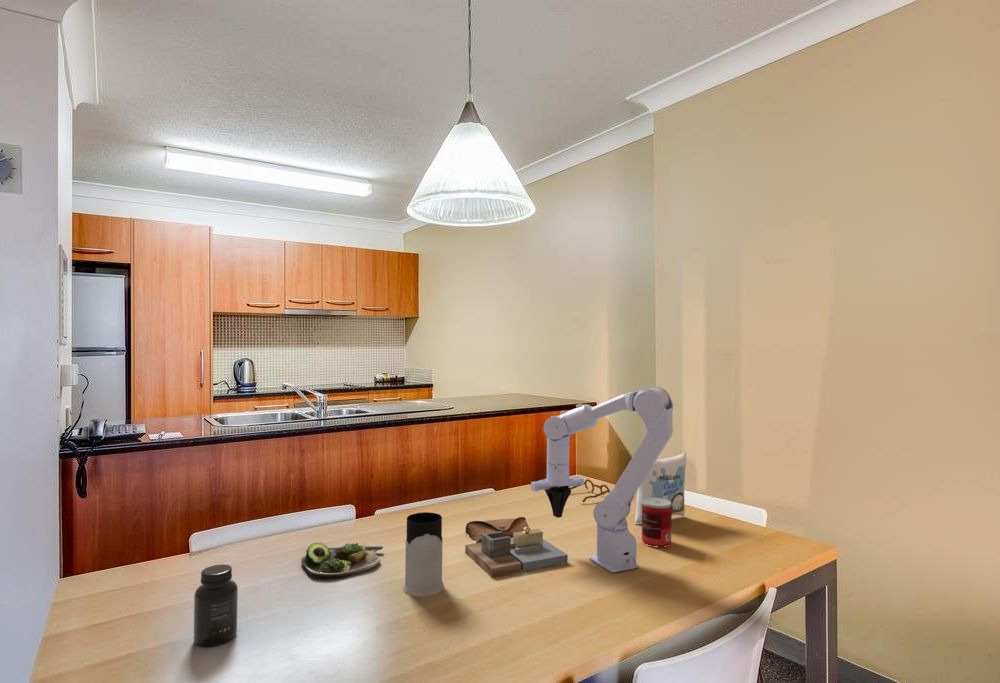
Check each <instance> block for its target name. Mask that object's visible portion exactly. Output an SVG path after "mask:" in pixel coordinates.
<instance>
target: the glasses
mask: <svg viewBox="0 0 1000 683" xmlns="http://www.w3.org/2000/svg"><path fill="white" fill-rule="evenodd" d="M584 480H585V481H584V487H585V489H586V488H587V489H589V488H588V485H587V483H588V482H589V483H590V484H591V491H595V488H598V489H600V493H596V494H595V495H588V496H585V497H584V498H583V499H582V501H581V502H584V503H585V502H586V501H587V499H592V498H597V497H600V496H602V494H603V495H605V494H607V493H608V494H609V492H610V491H611V490H610V488H609V487H608V485H607V484H601V485H599V484H598V485H597V484H594V483H593V481H592V480H591V479H587V478H586V479H584ZM578 487H580V486H570V487H568V488H569V489H571V490H573V489H576V488H578ZM603 487H604V488H606V490H604V491H603ZM587 489H586V490H587ZM608 494H607V495H608Z"/></svg>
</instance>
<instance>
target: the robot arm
mask: <svg viewBox="0 0 1000 683" xmlns="http://www.w3.org/2000/svg"><path fill="white" fill-rule="evenodd" d="M575 407H576V408H573V409H570V410H568V411H566V410H562V411H560V412H559V414H560V415H552V416H550V417H549V418H547V419H546V420H545V422H544V424H543V427H542V428H543V433H544V435H545V437H546V440H547V441H546V478H544V479H540V480H537V481H531V483H530V490H531V491H533V492H539V491H543V490H544V492H545V493H546V495H547V497H548V500H549V502H550V506H551V511H552V516H553V517H556V518H557V519H559V518H562V517H563V512H564V509H565V506H566V504H567V501H568V499H569V497H570V496H571V494H572V489H569V488H568V487H573V486H579V487H583V486H584V487H585V484H584V482H585V481H584V480H585V478H583V477H581V476H573V477H572V476H570V439H571V435H574V434H576V433H579V432H582V431H585V430H587V429H591V428H592V427H595V426H596V424H597V422H598V420H599V419H601V418H604V417H606V416H610V415H613V414H617V413H618V412H621V411H628V412H630V413H631V412H632V413H634V412H636V413H637V414H638V416H639V417H640V418H641V419H642V421H643V422H644V425H645V428H646V431H647V433H646V435H645V437H644V438H643V440H642V441H641V443H640V444H639V446H638V448H637V449H636V451H635V452H634V455H632V458H631V459H630V461H629V462H628V464H627V465H626V467H625V469H624V470H623V472H622V473H621V475H620V476H619V478H618V480H617V482H616V484H615V485H614V487H613V488H612V489H611V490H610V492H609V494H607V495H605V496H606V498H605V497H604V499H603V500H602V501H600V502H598V503H597V504H595V506H594V509H593V512H592V514H593V519H594V521H595V523H596V555H592V556H589V557H588V558H589V560H591V562H594V563H595V564H597V565H599V566H600V567H602V568H603V569H605V570H607V571H608V572H610V573H612V574H613V573H614V574H615V573H619V572H624V571H628V570H633V568H634V569H638V568H640V565H639V564H638V563H637V539H636V537H635V536H634V535H633V534H632V533H631V532H630V530H629V528H628V521H627V517H628V516H629V515H630V513H631V505H632V502H633V501H634V499H635V494H636V493H637V490H638V488H639V487H640V485H641V483H642V482H643V480H644V479H645V477H646V476H647V474H648V472H649V471H650V469H651V468H652V466H653V464H654V463H655V461H656V460H657V459H658V458H659V456H660V455H661V453H662V452H663V450H664V449H665V447H666V446H667V444H668V442H669V441H670V439H671V437H672V435H673V430H674V429H673V410H674V403H673V400H672V398H671V396H670V393H669V392H668V391H667V390H666V389H665V388H663V387H661V386H653V387H650V388H644V389H641V390H640V389H639V390H635V391H631V392H626V393H623V394H620V395H618V396H616V397H614V398H613V397H612V398H611V399H609V400H607V401H604V402H602V403H600V404H597V405H595V406H592V405H590V404H589V403H588V404H587V403H585V404H583V403H579V404H575Z"/></svg>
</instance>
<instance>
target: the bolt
mask: <svg viewBox="0 0 1000 683" xmlns="http://www.w3.org/2000/svg"><path fill="white" fill-rule="evenodd" d="M529 528H530V527H524V531H521V532H515V533H513V548H520V547H526V546H532V545H538V544H540V545H542V546H543V539H544V538H543V537H544V531H543V530H541V529H539V528H535V529H530V530H529Z"/></svg>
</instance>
